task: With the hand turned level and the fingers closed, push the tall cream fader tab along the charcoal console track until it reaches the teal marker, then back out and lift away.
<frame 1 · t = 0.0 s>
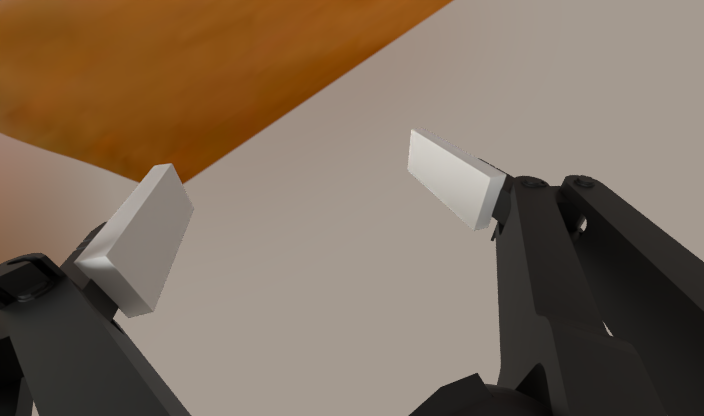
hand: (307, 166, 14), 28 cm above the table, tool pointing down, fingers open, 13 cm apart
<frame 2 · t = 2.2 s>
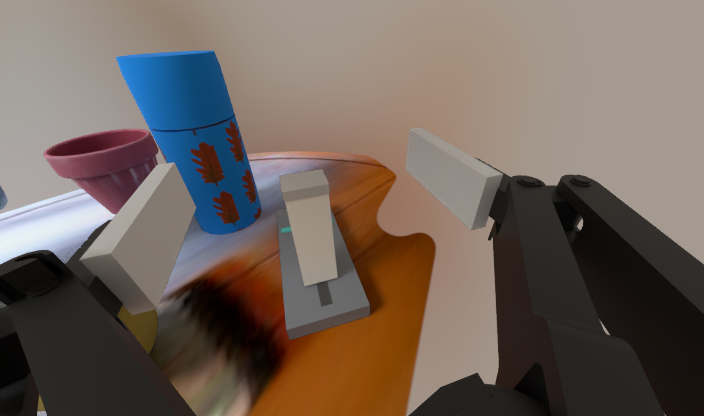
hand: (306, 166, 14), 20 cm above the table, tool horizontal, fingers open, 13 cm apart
fader tab: (312, 232, 27), point 9 cm above the table, slide at 0.0 cm
flower pot: (117, 372, 25), on the table
thermos: (232, 216, 45), on the table
console: (314, 257, 36), on the table
plant pot: (140, 202, 50), on the table
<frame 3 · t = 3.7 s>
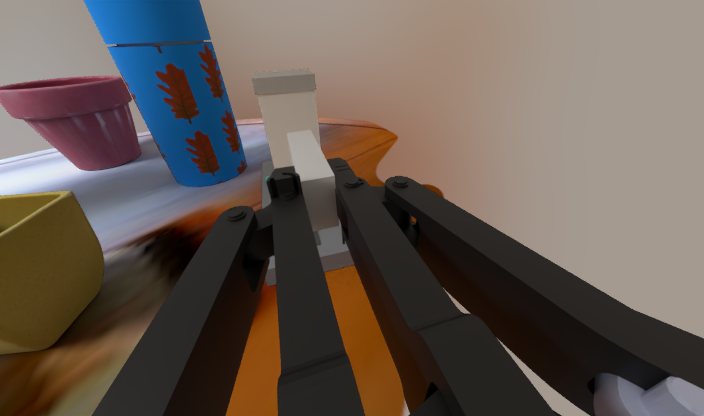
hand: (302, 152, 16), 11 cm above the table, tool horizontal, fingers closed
fader tab: (296, 156, 22), point 9 cm above the table, slide at 0.0 cm
flower pot: (49, 320, 20), on the table
thermos: (213, 171, 40), on the table
console: (303, 206, 31), on the table
plant pot: (112, 160, 45), on the table
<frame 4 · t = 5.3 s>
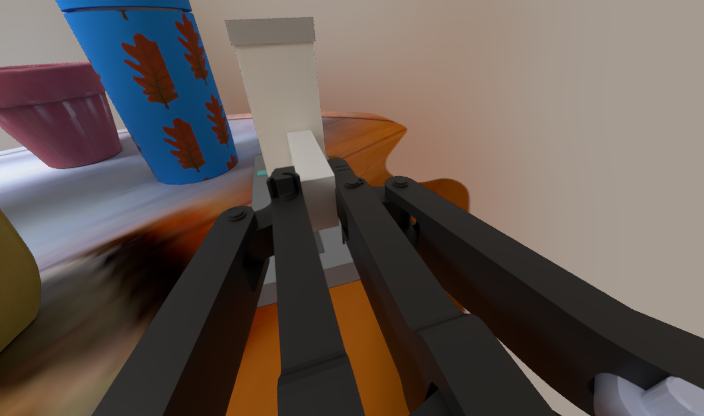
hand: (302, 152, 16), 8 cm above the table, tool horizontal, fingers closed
fader tab: (291, 138, 17), point 9 cm above the table, slide at 0.1 cm, touching gripper
thermos: (199, 167, 35), on the table
console: (301, 205, 26), on the table
plant pot: (89, 157, 40), on the table
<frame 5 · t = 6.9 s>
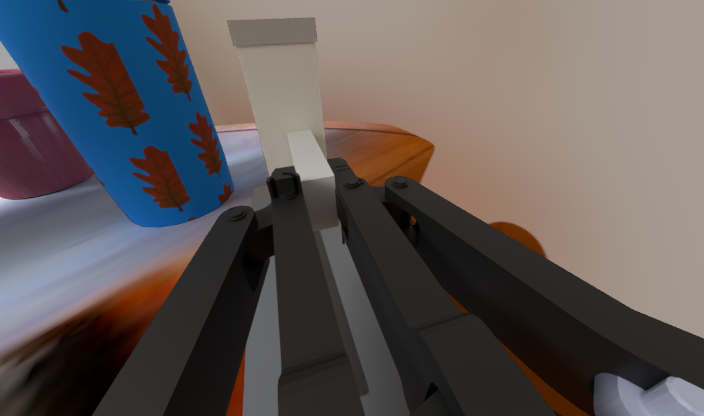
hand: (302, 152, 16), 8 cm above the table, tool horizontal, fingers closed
fader tab: (292, 138, 17), point 9 cm above the table, slide at 9.0 cm, touching gripper
thermos: (185, 199, 28), on the table
console: (318, 266, 19), on the table
plant pot: (53, 182, 33), on the table
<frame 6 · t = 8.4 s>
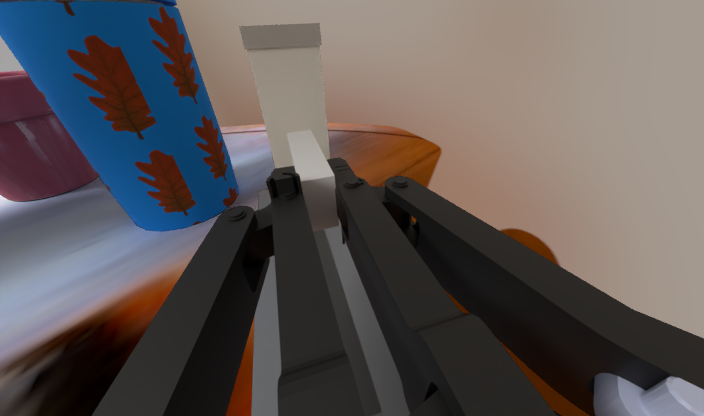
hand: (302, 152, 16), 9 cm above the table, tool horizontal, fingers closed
fader tab: (297, 135, 18), point 9 cm above the table, slide at 10.8 cm
thermos: (190, 202, 28), on the table
console: (325, 274, 19), on the table
plant pot: (59, 184, 33), on the table
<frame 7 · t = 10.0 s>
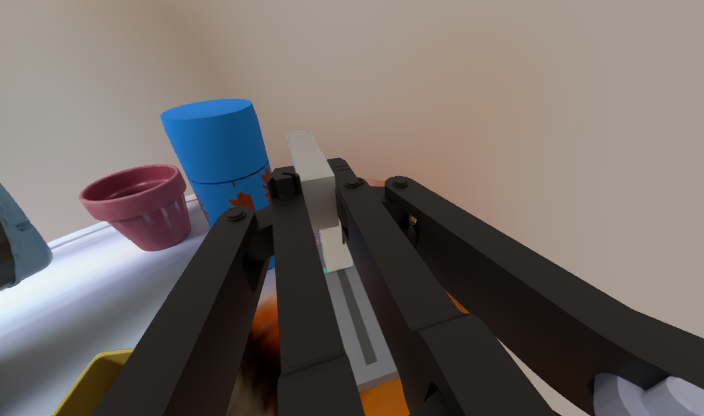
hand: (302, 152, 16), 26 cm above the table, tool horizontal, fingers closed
fader tab: (334, 230, 36), point 9 cm above the table, slide at 10.8 cm
thermos: (260, 252, 46), on the table
console: (348, 301, 36), on the table
plant pot: (167, 236, 51), on the table
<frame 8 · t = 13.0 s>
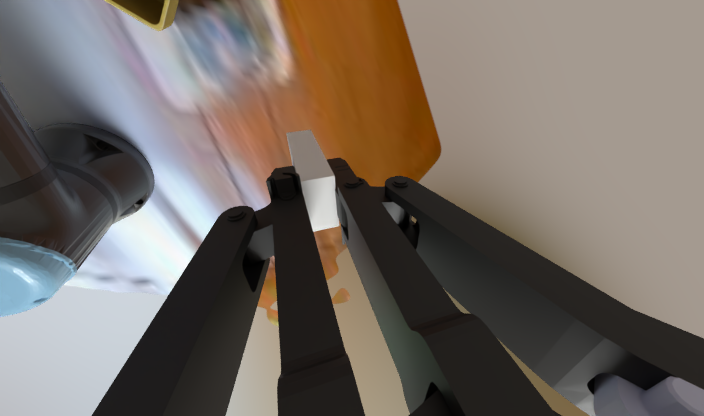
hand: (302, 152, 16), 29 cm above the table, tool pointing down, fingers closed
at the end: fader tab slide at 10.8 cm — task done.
